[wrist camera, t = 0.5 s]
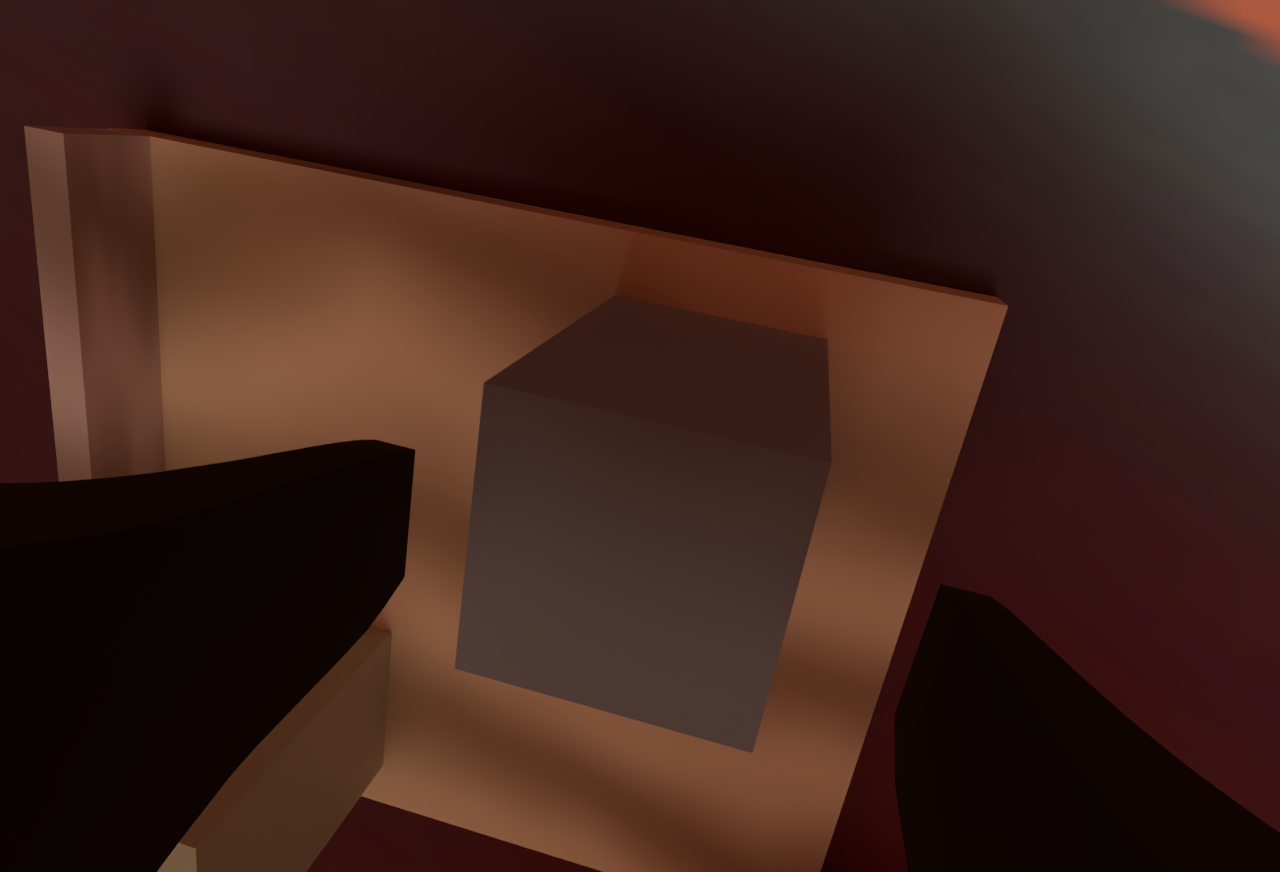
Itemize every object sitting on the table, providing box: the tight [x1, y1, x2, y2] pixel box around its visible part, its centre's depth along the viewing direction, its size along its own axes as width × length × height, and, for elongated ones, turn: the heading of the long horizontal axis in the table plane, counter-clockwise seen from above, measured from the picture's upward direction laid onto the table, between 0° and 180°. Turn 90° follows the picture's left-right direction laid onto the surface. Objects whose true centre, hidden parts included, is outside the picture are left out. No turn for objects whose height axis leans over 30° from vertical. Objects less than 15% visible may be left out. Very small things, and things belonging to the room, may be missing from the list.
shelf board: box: [24, 126, 1008, 872], centre depth 22 cm, size 19×22×4 cm
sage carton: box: [157, 626, 392, 872], centre depth 21 cm, size 5×5×8 cm
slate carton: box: [455, 295, 832, 753], centre depth 16 cm, size 5×5×8 cm
